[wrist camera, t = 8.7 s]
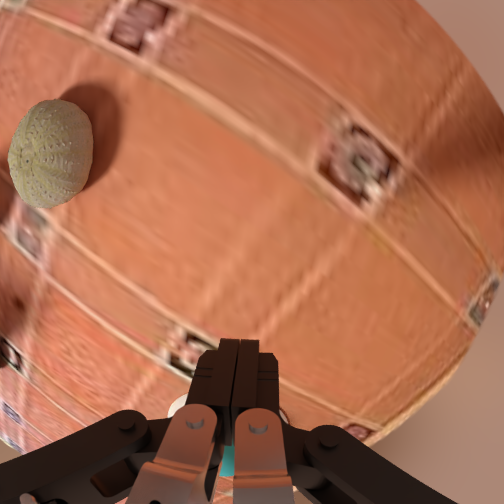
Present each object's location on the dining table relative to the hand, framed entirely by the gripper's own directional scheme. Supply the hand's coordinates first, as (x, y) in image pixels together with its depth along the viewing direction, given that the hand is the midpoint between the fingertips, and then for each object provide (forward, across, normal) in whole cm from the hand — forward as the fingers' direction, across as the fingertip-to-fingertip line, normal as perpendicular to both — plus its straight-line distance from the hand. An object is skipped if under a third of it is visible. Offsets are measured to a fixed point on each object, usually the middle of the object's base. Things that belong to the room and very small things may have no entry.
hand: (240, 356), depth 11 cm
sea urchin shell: (+13, +17, -9) cm, 23 cm away
